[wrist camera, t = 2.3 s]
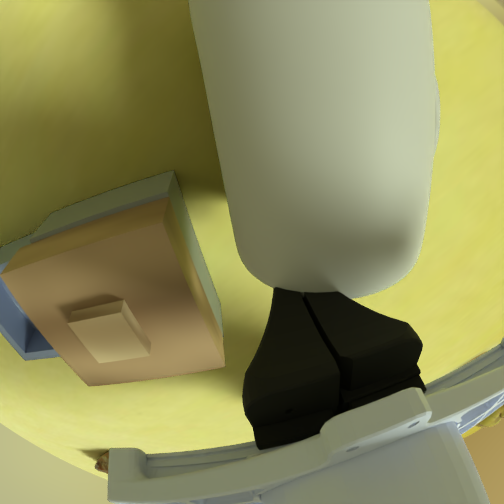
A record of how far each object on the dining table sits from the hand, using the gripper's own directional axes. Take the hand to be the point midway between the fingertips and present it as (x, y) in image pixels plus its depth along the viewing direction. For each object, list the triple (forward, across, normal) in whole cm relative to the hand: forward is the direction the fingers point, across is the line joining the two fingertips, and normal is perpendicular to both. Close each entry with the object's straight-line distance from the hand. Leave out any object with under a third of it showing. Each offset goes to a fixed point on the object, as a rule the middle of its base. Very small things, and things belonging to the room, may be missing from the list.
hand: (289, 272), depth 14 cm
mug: (+1, -5, -12) cm, 13 cm away
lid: (+2, +9, 0) cm, 9 cm away
